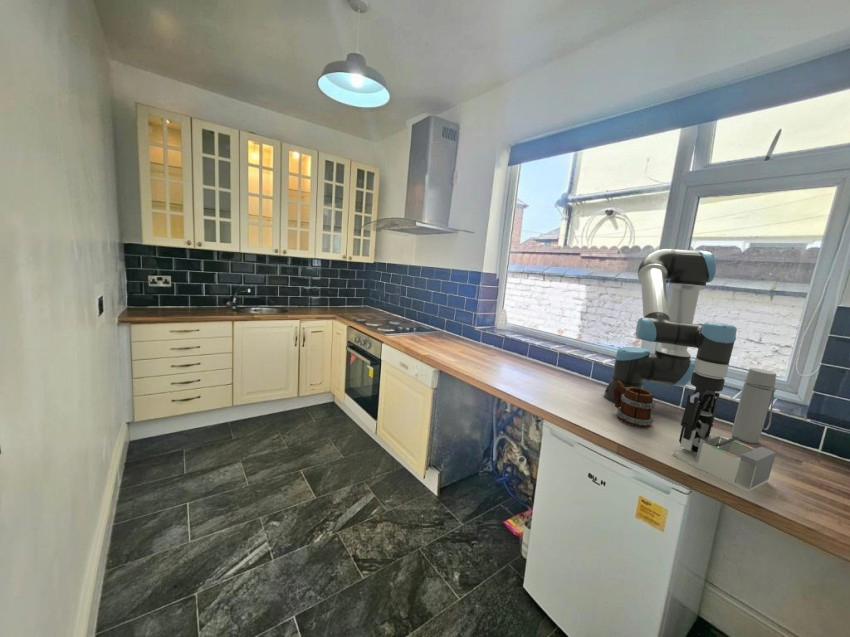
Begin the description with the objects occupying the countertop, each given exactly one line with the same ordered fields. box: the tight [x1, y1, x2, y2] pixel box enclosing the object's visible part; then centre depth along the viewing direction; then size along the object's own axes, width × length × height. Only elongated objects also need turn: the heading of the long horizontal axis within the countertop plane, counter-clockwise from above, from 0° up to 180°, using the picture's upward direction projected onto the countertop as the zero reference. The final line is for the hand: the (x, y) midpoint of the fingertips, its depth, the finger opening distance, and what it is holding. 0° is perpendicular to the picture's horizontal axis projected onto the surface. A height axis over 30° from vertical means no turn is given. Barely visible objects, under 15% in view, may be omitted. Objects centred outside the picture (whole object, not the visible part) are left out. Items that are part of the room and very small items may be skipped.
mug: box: [614, 380, 656, 429], centre depth 126 cm, size 12×14×15 cm
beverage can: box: [678, 410, 714, 452], centre depth 103 cm, size 7×7×12 cm
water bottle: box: [731, 367, 778, 444], centre depth 116 cm, size 9×8×25 cm
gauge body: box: [672, 436, 777, 493], centre depth 97 cm, size 12×18×9 cm, turn 27°
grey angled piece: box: [696, 433, 739, 461], centre depth 98 cm, size 12×7×8 cm, turn 117°
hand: (692, 446), depth 104 cm, fingers closed on beverage can, 7 cm apart
